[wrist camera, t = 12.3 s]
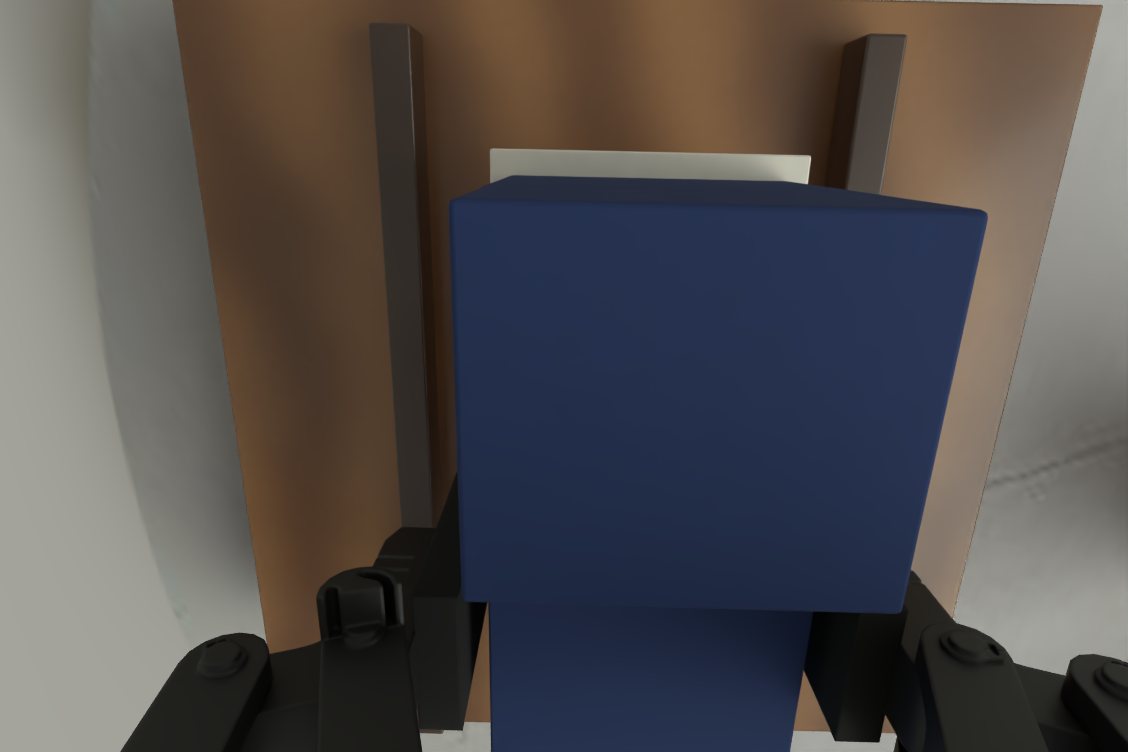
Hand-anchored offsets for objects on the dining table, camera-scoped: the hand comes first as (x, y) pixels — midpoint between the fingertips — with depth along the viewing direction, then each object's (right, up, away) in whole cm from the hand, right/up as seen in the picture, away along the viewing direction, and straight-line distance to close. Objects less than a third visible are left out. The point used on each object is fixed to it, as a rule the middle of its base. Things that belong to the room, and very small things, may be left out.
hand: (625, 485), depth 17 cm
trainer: (0, 0, 0) cm, 0 cm away
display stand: (0, +3, +10) cm, 10 cm away
